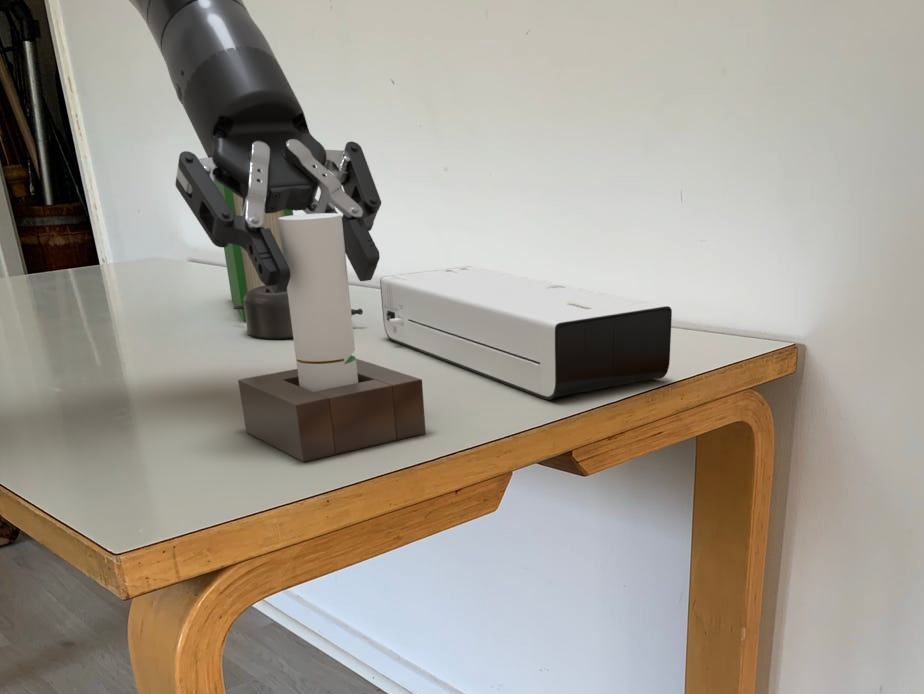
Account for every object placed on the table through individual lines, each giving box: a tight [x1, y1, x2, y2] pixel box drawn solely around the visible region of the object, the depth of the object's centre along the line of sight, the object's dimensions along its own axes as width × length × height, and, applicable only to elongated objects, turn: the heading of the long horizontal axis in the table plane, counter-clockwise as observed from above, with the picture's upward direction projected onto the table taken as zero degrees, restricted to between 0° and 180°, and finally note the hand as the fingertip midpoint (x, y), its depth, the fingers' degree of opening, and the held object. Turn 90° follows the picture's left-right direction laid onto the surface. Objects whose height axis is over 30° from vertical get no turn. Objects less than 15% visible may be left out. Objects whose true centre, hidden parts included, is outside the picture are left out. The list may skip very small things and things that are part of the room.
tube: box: [278, 213, 358, 392], centre depth 71 cm, size 4×4×15 cm
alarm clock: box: [232, 285, 364, 340], centre depth 112 cm, size 11×5×16 cm
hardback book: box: [214, 180, 294, 323], centre depth 121 cm, size 18×7×24 cm, turn 17°
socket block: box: [237, 358, 427, 463], centre depth 73 cm, size 10×10×4 cm
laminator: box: [379, 265, 673, 401], centre depth 92 cm, size 34×12×6 cm, turn 29°
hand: (327, 278), depth 68 cm, fingers open, 6 cm apart
